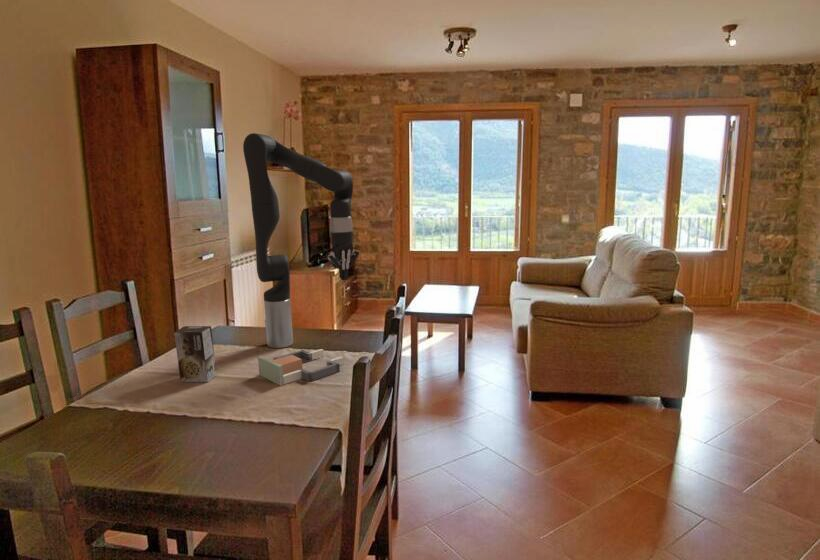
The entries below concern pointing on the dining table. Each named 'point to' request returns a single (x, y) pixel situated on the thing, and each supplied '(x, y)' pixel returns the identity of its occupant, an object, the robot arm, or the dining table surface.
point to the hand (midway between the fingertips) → (344, 279)
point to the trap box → (275, 370)
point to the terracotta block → (289, 363)
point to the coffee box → (195, 353)
